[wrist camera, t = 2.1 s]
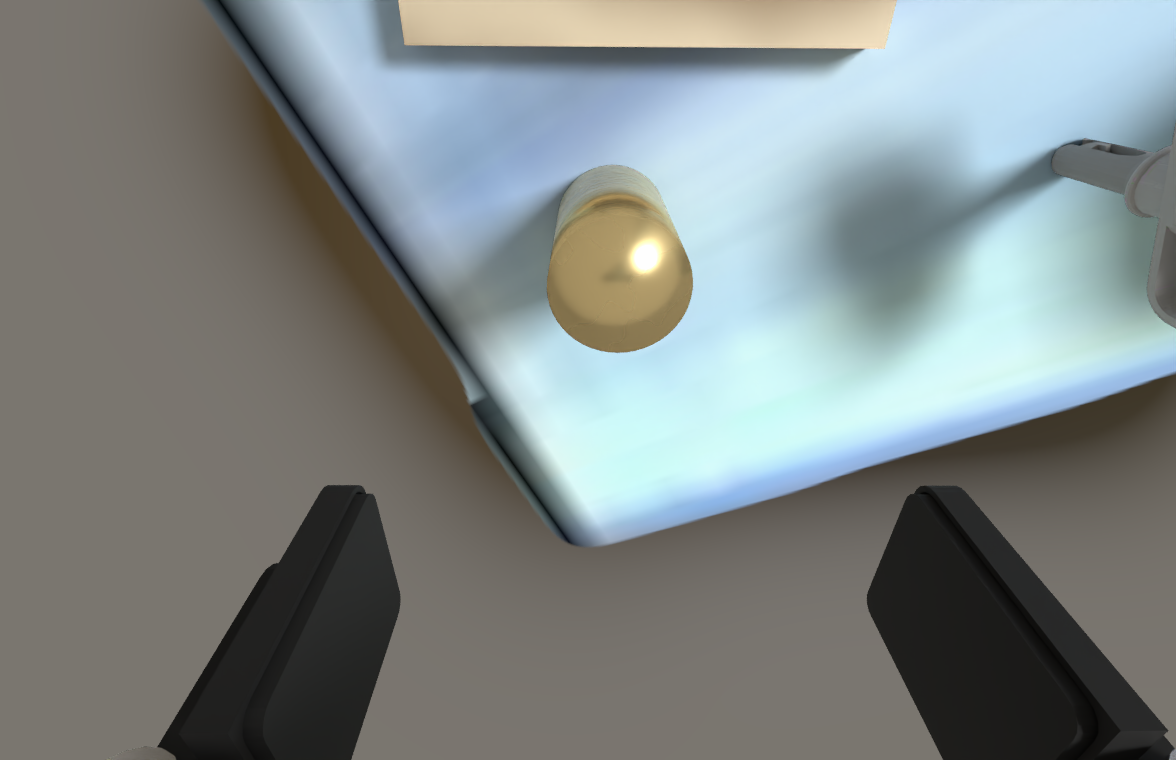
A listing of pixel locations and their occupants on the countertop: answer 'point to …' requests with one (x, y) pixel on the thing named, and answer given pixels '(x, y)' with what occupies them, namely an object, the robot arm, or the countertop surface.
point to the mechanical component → (1135, 201)
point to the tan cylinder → (617, 262)
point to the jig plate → (649, 23)
